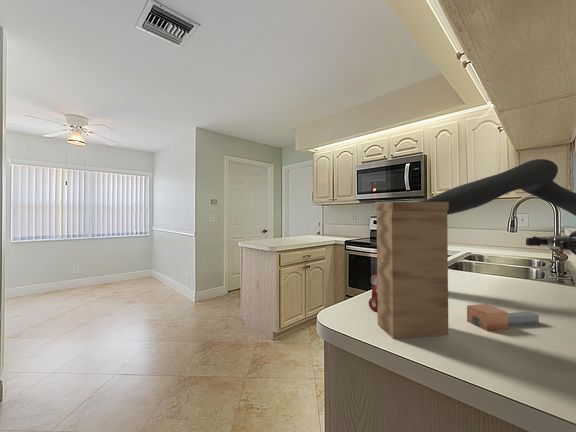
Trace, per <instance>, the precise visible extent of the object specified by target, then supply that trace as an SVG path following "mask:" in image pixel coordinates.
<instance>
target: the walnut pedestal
mask: <svg viewBox="0 0 576 432" xmlns="http://www.w3.org/2000/svg"><path fill="white" fill-rule="evenodd" d="M447 210H449V202H419V201H390V202H381V203H375V212H376V266H377V267H376V275H377V305H378V311H377V325H378V327H380V328H381V329H382V330H383V331H384V332H385V333H386V334H387V335H389V336H390V338H392V339H393V340H394V339H407V338H427V337H440V336H441V337H442V336H449V273H448V272H449V269H448V268H449V265H448V264H449V260H448V257H449V256H448V255H449V253H448V250H449V249H448V247H449V246H448V242H449V241H448V215H447Z"/></svg>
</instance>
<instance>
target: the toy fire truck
mask: <svg viewBox="0 0 576 432" xmlns="http://www.w3.org/2000/svg"><path fill="white" fill-rule="evenodd" d="M370 283H371V298H369V300H368V306H369V308H370V310H371V311H373V312H378V305H377V274H371V277H370Z"/></svg>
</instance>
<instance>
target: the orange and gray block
mask: <svg viewBox="0 0 576 432" xmlns="http://www.w3.org/2000/svg"><path fill="white" fill-rule="evenodd" d="M466 322H467V323H469V324H471V325H473V326H476V327H477V328H479V329H481V330H483V331H485V332H492V331H493V332H494V331H507V330H509V327H516V326H517V327H519V326H533V325H539V324H540V316H539V314H536V313H533V312H531V311H520V312H519V311H517V312H509V311H506V310H504V309H500V308H498V307H495V306H492V305H491V304H488V303H487V304H485V303H484V304H468V305H467V304H466Z"/></svg>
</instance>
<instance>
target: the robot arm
mask: <svg viewBox="0 0 576 432" xmlns="http://www.w3.org/2000/svg"><path fill="white" fill-rule="evenodd" d="M558 172H559V167H558V165H557V164H556V163H555V162H554V161H552V160H549V159H544V158H538V159H537V158H536V159H531V160H528V161H526V162H524V163H521V164H520V165H517V166H514V167H512V168H511V169H507V170H505V171H502V172H500V173H497V174H494V175H490V176H487V177H484V178H480V179H477V180H475V181H472V182H468V183H464V184H462V185H461V184H460V185H459V186H455V187H453V188H450V189H448V190H445V191H443V192H441V193H439V194H436V195H434V196H432V197H430V198H427V199H423V200H419V201H418V202H449V210H447V216H449V215H454V214H458V213H462V212H465V211H469V210H472V209H475V208H478V207H481V206H483V205H486V204H489V203H490V202H492V201H494V200H496V199H498V198H500V197H502V196H504V195H506V194H508V193H511V192H514V191H517V190H521V191H523V192H524V193H527V194H529V195H532V196H535V197H537V198H539V199H541V200H543V201H545V202H547V203H550V204H551V205H554V206H556V207H558V208H560V209H562V210H564V211H566V212H568V213H570V214H571V215H573V216H574V217H576V192H574V191H573V190H569V189H567V188H566V187H565V188H564V187H563V186H561V185H559V184H558V183H557V182H555V181H554V180H555V179H556V177H557V176H558V175H557V174H558ZM554 244H555V246H554ZM525 245H526V246H528V247H529V246H530V247H534V246H535V247H547V248H548V249H552V250H553V249H554V250H555V249H557V250H562V251H570V252H571V253H572V254H573V255H574V256H576V230H575V231H572V232H571V233H570V234H569V235H561V236H559V235H558V236H557V235H556V236H555V235H548V236H536V235H535V236H532V237H526V238H525Z"/></svg>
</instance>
